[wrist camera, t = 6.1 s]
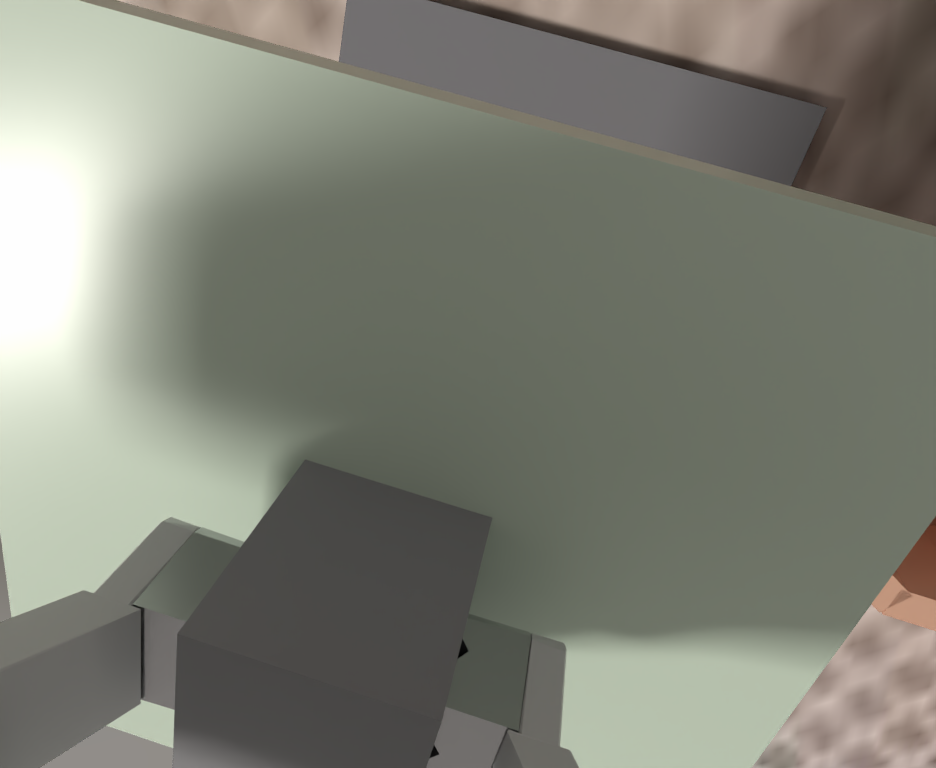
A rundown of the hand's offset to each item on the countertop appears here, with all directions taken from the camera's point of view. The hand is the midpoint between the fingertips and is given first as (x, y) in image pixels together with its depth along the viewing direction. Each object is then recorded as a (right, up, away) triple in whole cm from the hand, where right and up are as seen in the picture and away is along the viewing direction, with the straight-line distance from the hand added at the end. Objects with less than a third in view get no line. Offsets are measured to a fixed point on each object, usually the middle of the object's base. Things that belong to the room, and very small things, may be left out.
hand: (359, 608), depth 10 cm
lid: (0, +1, +2) cm, 2 cm away
